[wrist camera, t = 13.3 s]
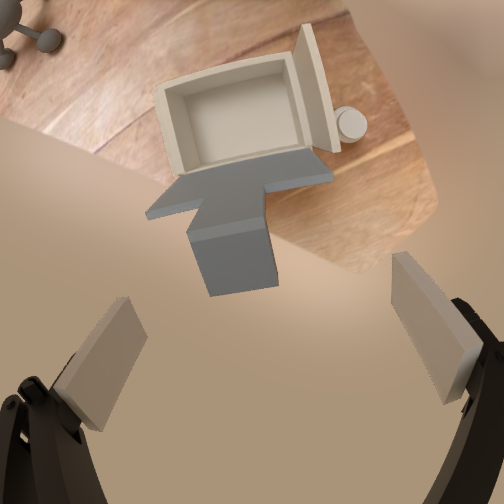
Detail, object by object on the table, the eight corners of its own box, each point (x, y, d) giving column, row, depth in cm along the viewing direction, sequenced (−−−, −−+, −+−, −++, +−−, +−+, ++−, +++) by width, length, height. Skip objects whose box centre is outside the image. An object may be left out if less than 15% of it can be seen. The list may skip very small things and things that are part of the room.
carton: (173, 94, 41) (105, 74, 21) (291, 66, 39) (308, 16, 19) (193, 172, 47) (137, 205, 27) (310, 147, 44) (342, 160, 24)
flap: (113, 248, 19) (141, 306, 22) (356, 199, 17) (361, 270, 19) (181, 175, 36) (192, 212, 39) (309, 147, 34) (316, 187, 37)
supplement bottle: (314, 118, 42) (326, 114, 33) (342, 104, 41) (360, 97, 32) (331, 147, 44) (346, 150, 35) (358, 132, 42) (379, 133, 33)
